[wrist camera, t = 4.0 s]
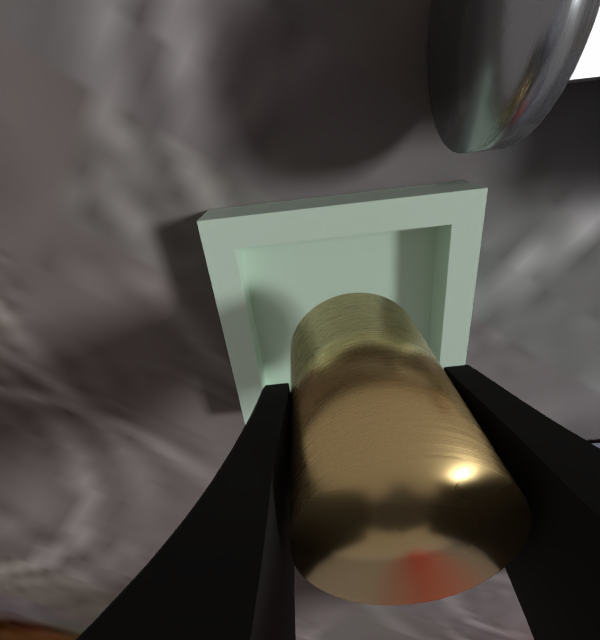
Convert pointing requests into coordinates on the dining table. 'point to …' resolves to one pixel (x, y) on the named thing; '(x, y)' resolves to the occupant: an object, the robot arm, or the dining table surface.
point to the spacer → (390, 464)
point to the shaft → (506, 65)
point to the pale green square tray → (342, 268)
